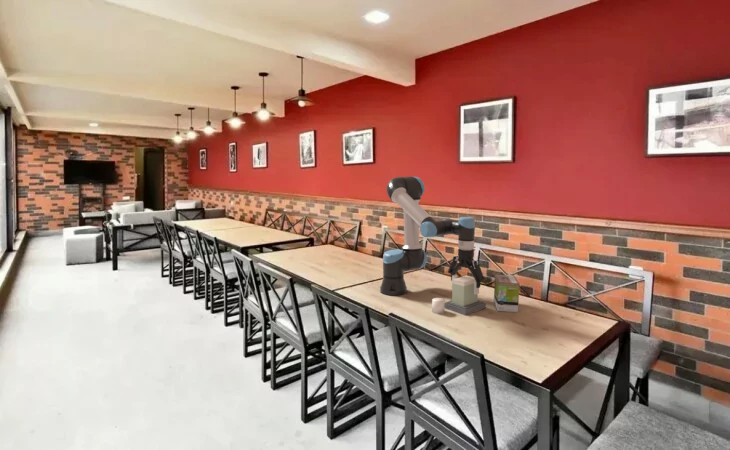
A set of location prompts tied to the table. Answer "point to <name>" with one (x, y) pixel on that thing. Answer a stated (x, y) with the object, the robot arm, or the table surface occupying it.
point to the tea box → (506, 293)
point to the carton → (463, 291)
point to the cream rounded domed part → (438, 305)
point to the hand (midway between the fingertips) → (465, 290)
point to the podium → (465, 307)
